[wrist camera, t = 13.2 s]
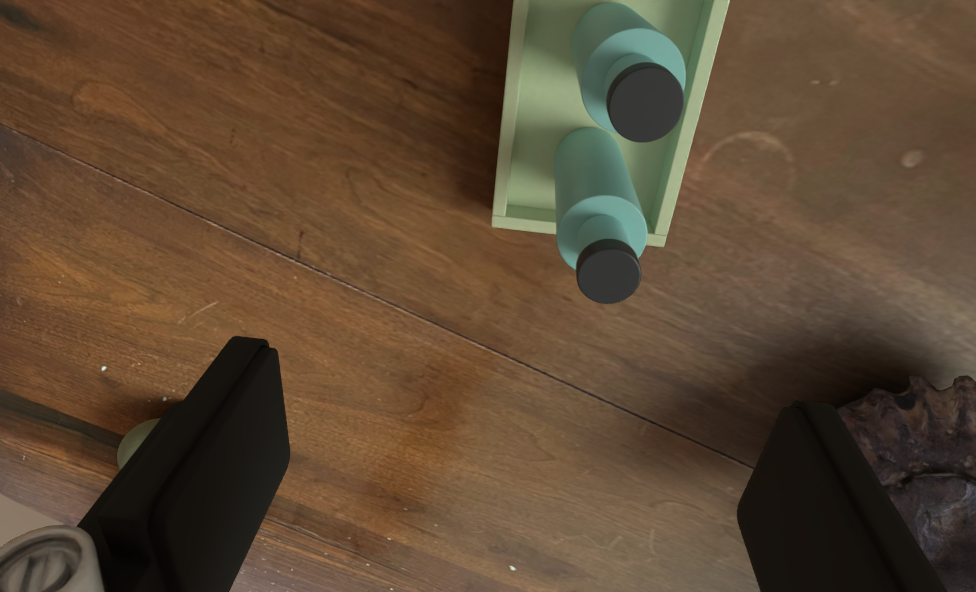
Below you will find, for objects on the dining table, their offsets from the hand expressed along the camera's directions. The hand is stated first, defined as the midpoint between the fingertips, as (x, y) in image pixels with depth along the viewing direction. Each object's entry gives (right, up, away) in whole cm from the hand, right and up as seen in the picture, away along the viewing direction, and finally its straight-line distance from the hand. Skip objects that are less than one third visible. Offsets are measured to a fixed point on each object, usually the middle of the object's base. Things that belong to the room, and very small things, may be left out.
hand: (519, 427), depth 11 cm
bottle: (+5, +11, +25) cm, 28 cm away
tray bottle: (+6, +16, +21) cm, 28 cm away
